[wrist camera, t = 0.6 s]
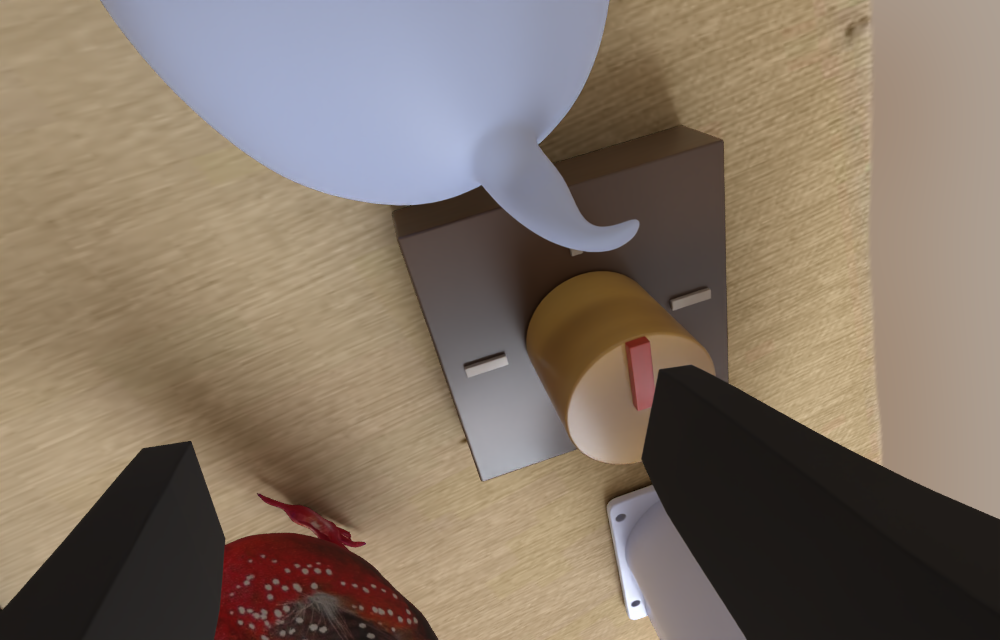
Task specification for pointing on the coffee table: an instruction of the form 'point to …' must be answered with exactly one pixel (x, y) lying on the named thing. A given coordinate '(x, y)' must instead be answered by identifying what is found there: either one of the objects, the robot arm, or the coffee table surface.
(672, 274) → the plate
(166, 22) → the hippopotamus toy
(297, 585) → the decorative bird figurine
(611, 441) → the lock knob
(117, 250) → the coffee table surface
